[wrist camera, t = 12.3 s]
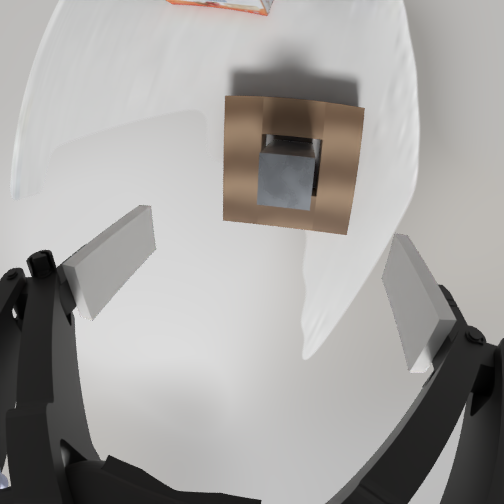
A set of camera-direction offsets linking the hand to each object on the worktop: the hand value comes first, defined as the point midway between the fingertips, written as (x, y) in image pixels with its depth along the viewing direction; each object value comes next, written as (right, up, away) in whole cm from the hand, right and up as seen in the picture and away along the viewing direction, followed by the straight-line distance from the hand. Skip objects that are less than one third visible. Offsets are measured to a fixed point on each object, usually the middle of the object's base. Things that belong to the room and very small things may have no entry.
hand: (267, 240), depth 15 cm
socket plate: (+4, +11, +21) cm, 24 cm away
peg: (+4, +11, +21) cm, 24 cm away
